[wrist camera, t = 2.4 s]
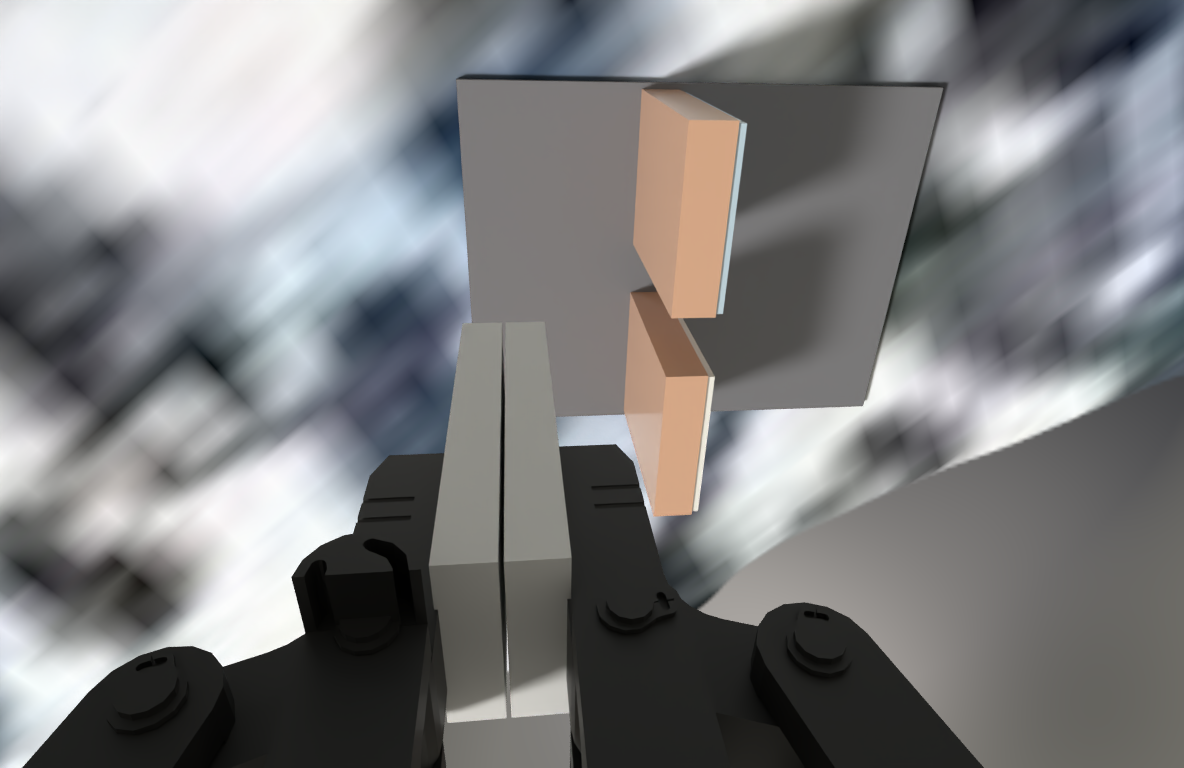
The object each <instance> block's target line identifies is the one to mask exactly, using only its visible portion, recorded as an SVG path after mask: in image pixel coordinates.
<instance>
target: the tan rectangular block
mask: <svg viewBox="0 0 1184 768" xmlns="http://www.w3.org/2000/svg"><path fill="white" fill-rule="evenodd" d="M746 129H747V123H745V122H743V121H741V120H740V119H738V118H736V117H734V116H732V115H730V114H728V113H726V112H724V111H722V110H720V109H718V108H716V107H714V106H712V105H710V104H708V103H706V102H705V101H703V100H701V99H699V98H697V97H695V96H693V95H691V94H689V93H687V92H684V91H682V90H677V89H642V94H641V112H640V130H639V148H638V166H637V184H636V201H635V219H634V237H633V245H634V247H635V249H636V251H637V253H638V255H639V257H640V259H641V261H642V262H643V264H644V266H645V268H646V270H647V272H648V274H649V276H650V278H651V280H652V282H653V284H654V286H655V288H656V290H657V292H658V294H659V296H660V297H661V299H662V301H663V303H664V305H665V307H666V309H667V311H668V313H669V315H670V317H671V318H716V314H723V309H724V301H725V294H726V286H727V278H728V270H729V262H730V255H731V247H732V239H733V231H734V223H735V215H736V208H737V200H738V192H739V184H740V176H741V169H742V161H743V153H744V145H745V137H746Z"/></svg>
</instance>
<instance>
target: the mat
mask: <svg viewBox="0 0 1184 768" xmlns="http://www.w3.org/2000/svg"><path fill="white" fill-rule="evenodd" d="M456 83H457V99H458V114H459V129H460V145H461V160H462V176H463V191H464V207H465V222H466V237H467V253H468V268H469V284H470V299H471V314H472V323H502V330H503V354H504V378H505V341H506V322H545V330H546V338H547V347H548V356H549V365H550V373H551V382H552V391H553V400H554V408H555V417H565V416H593V415H622V414H625V413H624V398H625V380H626V362H627V344H628V326H629V309H630V292H657V290H656V288H655V286H654V284H653V282H652V280H651V278H650V276H649V274H648V272H647V270H646V268H645V266H644V264H643V262H642V261H641V259H640V257H639V255H638V253H637V251H636V249H635V247H634V245H633V237H634V219H635V201H636V184H637V166H638V148H639V130H640V112H641V94H642V89H677V90H682V91H684V92H687V93H689V94H691V95H693V96H695V97H697V98H699V99H701V100H703V101H705V102H706V103H708V104H710V105H712V106H714V107H716V108H718V109H720V110H722V111H724V112H726V113H728V114H730V115H732V116H734V117H736V118H738V119H740V120H741V121H743V122H745V123H747V129H746V137H745V145H744V153H743V161H742V169H741V176H740V184H739V192H738V200H737V208H736V215H735V223H734V231H733V239H732V247H731V255H730V262H729V270H728V278H727V286H726V294H725V301H724V309H723V314H716V318H683V320H684V322H685V323H686V325H687V327H688V329H689V331H690V332H691V334H692V336H693V338H694V340H695V341H696V343H697V345H698V347H699V349H700V351H701V352H702V354H703V356H704V358H705V360H706V361H707V363H708V365H709V367H710V369H711V371H712V372H713V374H714V376H715V380H714V387H713V395H712V403H711V411H737V410H765V409H794V408H823V407H851V406H863V404H864V400H865V396H866V392H867V388H868V384H869V380H870V376H871V372H872V368H873V364H874V360H875V356H876V352H877V348H878V344H879V340H880V336H881V332H882V329H883V325H884V321H885V317H886V313H887V309H888V305H889V301H890V297H891V293H892V289H893V285H894V281H895V277H896V273H897V269H898V265H899V261H900V257H901V253H902V250H903V246H904V242H905V238H906V234H907V230H908V226H909V222H910V218H911V214H912V210H913V206H914V202H915V198H916V194H917V190H918V186H919V182H920V178H921V174H922V170H923V167H924V163H925V159H926V155H927V151H928V147H929V143H930V139H931V135H932V131H933V127H934V123H935V119H936V115H937V111H938V107H939V103H940V99H941V95H942V91H943V88H942V87H918V86H859V85H800V84H741V83H682V82H623V81H564V80H505V79H456Z"/></svg>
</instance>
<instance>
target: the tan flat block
mask: <svg viewBox="0 0 1184 768" xmlns="http://www.w3.org/2000/svg"><path fill="white" fill-rule="evenodd" d="M714 380H715V376H714V374H713V372H712V371H711V369H710V367H709V365H708V363H707V361H706V360H705V358H704V356H703V354H702V352H701V351H700V349H699V347H698V345H697V343H696V341H695V340H694V338H693V336H692V334H691V332H690V331H689V329H688V327H687V325H686V323H685V322H684V320H683V318H671V317H670V315H669V313H668V311H667V309H666V307H665V305H664V303H663V301H662V299H661V297H660V296H659V294H658V292H630V309H629V326H628V344H627V362H626V380H625V398H624V413H625V417H626V420H627V424H628V427H629V431H630V434H631V438H632V441H633V445H634V448H635V452H636V456H637V459H638V463H639V466H640V470H641V473H642V477H643V480H644V484H645V487H646V491H647V494H648V498H649V501H650V505H651V509H652V512H653V516H672V515H691V514H692V511H698V505H699V497H700V489H701V481H702V473H703V466H704V458H705V450H706V442H707V434H708V427H709V419H710V411H711V403H712V395H713V387H714Z"/></svg>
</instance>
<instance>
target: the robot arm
mask: <svg viewBox="0 0 1184 768" xmlns="http://www.w3.org/2000/svg"><path fill="white" fill-rule="evenodd" d="M292 581H293V585H294V589H295V593H296V597H297V601H298V605H299V609H300V613H301V617H302V621H303V625H304V629H305V634H304V635H302V636H301V637H299V638H297V639H296V640H294V641H292V642H291V643H289V644H287V645H285V646H283V647H280V648H278V649H275V650H273V651H270V652H268V653H265V654H262V655H259V656H255V657H252V658H249V659H246V660H243V661H240V662H237V663H234V664H231V665H227V666H224V667H222V665H221V664H220V663H219V662H218V660H217V659H216V658H215V657H214V655H213V654H212V653H210V652H208V651H205V650H202V649H199V648H196V647H193V646H185V647H166V648H163V649H160V650H157V651H153V652H150V653H147V654H144V655H140V656H138V657H136V658H135V659H133V660H131V661H129V662H127V663H126V664H124V665H122V666H120V667H119V668H117V669H115V670H113V671H112V672H111V673H110V674H108V675H107V676H106V677H105V678H104V679H103V680H102V681H101V682H99V683H98V684H97V685H96V686H95V687H94V688H93V689H92V690H90V691H89V692H88V693H87V695H86V696H85V697H84V698H83V699H82V700H81V701H80V703H79V704H78V705H77V706H76V707H75V708H74V709H73V711H72V712H71V713H70V714H69V715H68V716H67V717H66V719H65V720H64V721H63V722H62V723H61V724H60V725H59V726H58V728H57V729H56V730H55V731H54V732H53V733H52V734H51V736H50V737H49V738H48V739H47V740H46V741H45V742H44V744H43V745H42V746H41V747H40V748H39V749H38V750H37V752H36V753H35V754H34V755H33V756H32V757H31V758H30V759H29V761H28V762H27V763H26V764H25V765H24V766H23V767H22V768H446V761H445V754H444V746H443V734H444V722H445V711H446V713H447V721H448V723H450V722H463V721H475V720H487V719H501V718H506V717H507V716H506V715H507V707H506V705H507V704H506V703H507V702H506V701H507V700H506V699H507V683H506V682H507V676H506V675H507V634H508V654H509V675H510V695H511V713H512V718H513V717H525V716H538V715H551V714H563V713H569V714H570V726H571V737H570V739H571V740H570V741H571V742H570V768H984V767H983V766H982V765H981V764H980V763H979V762H978V761H977V760H976V758H975V757H974V756H973V755H972V754H971V753H970V751H969V750H968V749H967V748H966V747H965V746H964V744H963V743H962V742H961V741H960V740H959V739H958V737H957V736H956V735H955V734H954V733H953V732H952V731H951V730H950V728H949V727H948V726H947V725H946V724H945V722H944V721H943V720H942V719H941V718H940V717H939V716H938V714H937V713H936V712H935V711H934V710H933V709H932V707H931V706H930V705H929V704H928V703H927V702H926V701H925V699H924V698H923V697H922V696H921V695H920V694H919V693H918V691H917V690H916V689H915V688H914V687H913V686H912V684H911V683H910V682H909V681H908V680H907V679H906V678H905V677H904V675H903V674H902V673H901V672H900V671H899V670H898V668H897V667H896V666H895V665H894V664H893V663H892V661H890V659H889V658H888V657H887V656H886V655H885V653H884V652H883V651H882V650H881V649H880V648H879V646H878V645H877V644H876V643H875V642H874V641H873V640H872V638H871V637H870V636H869V635H868V634H867V633H866V632H865V631H864V630H863V629H862V628H860V627H859V626H858V625H857V624H856V623H855V622H853V621H852V620H851V619H850V618H849V617H847V616H844V615H842V614H840V613H838V612H836V611H834V610H832V609H830V608H828V607H825V606H819V605H815V604H809V603H794V604H783V605H782V606H780V607H778V608H776V609H774V610H772V611H770V612H768V613H767V614H766V615H765V617H764V618H763V620H762V621H761V623H760V624H759V626H754V625H749V624H744V623H739V622H734V621H729V620H724V619H720V618H717V617H714V616H710V615H707V614H704V613H702V612H701V611H699V610H697V609H695V608H693V607H691V606H689V605H688V604H687V603H686V602H684V601H683V600H682V599H681V598H680V596H679V594H678V593H677V591H676V590H675V589H674V588H672V587H671V586H670V585H669V584H668V582H667V580H666V578H665V575H664V573H663V569H662V566H661V562H660V558H659V555H658V551H657V547H656V544H655V540H654V536H653V532H652V529H651V525H650V521H649V518H648V514H647V510H646V507H645V506H644V499H643V496H642V492H641V488H639V481H638V477H637V474H636V470H635V466H634V463H633V461H632V460H631V459H630V458H629V457H628V456H627V455H626V454H625V453H624V452H623V451H622V450H621V449H620V448H619V447H618V446H617V445H616V444H614V445H588V446H563V447H559V443H558V435H557V426H556V417H555V408H554V400H553V391H552V382H551V373H550V365H549V356H548V347H547V338H546V330H545V322H506V341H505V378H504V354H503V330H502V323H463V325H462V332H461V339H460V346H459V354H458V361H457V368H456V375H455V382H454V389H453V396H452V404H451V411H450V418H449V425H448V432H447V439H446V446H445V453H440V454H414V455H389V456H388V457H387V458H386V459H385V460H384V462H383V463H382V464H381V465H380V466H379V467H378V468H377V469H376V470H375V471H374V472H373V473H372V474H371V475H370V477H369V481H368V484H367V488H366V491H365V495H364V498H363V503H362V505H361V508H360V512H359V515H358V523H356V526H355V529H354V532H353V534H349V535H344V536H341V537H339V538H337V539H335V540H332V541H330V542H328V543H325V544H323V545H321V546H320V547H318V548H317V549H316V550H315V551H313V552H312V553H311V554H309V555H308V556H307V557H306V558H304V559H303V560H302V562H301V563H300V565H299V566H298V568H297V569H296V571H295V573H294V574H293V576H292Z"/></svg>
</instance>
